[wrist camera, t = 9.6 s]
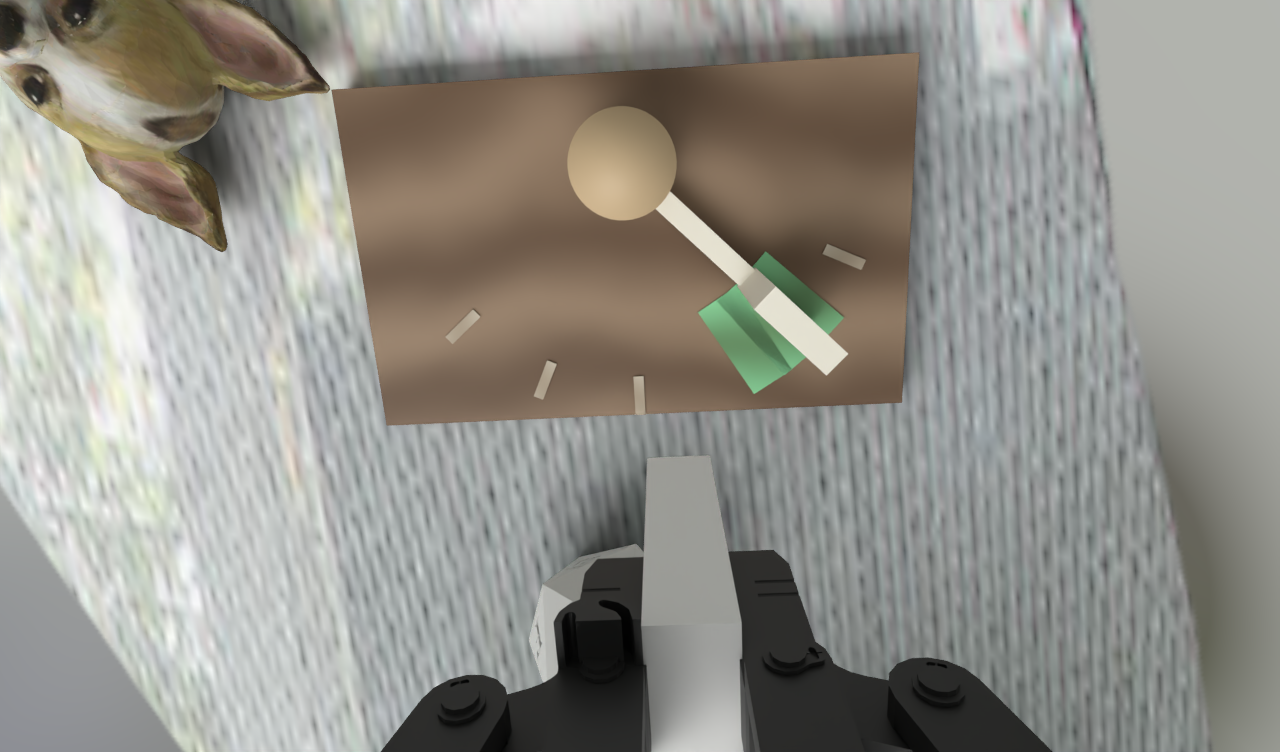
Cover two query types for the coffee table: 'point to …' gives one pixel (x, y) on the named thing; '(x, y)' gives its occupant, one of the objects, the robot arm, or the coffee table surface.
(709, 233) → the knob lever
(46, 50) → the ceramic sculpture
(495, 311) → the dial plate
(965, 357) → the coffee table surface
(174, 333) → the coffee table surface
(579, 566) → the die
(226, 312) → the coffee table surface
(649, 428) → the coffee table surface
